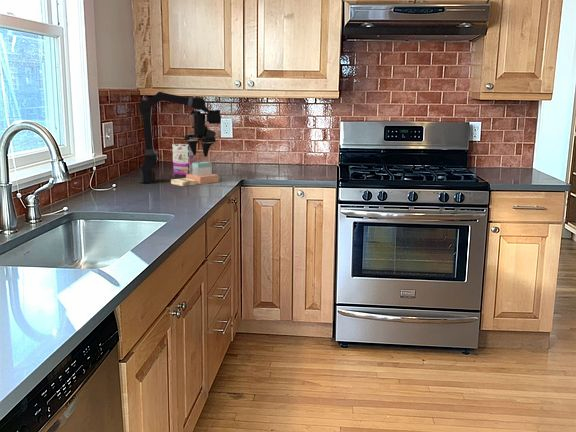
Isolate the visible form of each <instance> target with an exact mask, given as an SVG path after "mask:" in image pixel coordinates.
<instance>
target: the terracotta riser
mask: <svg viewBox="0 0 576 432" xmlns="http://www.w3.org/2000/svg"><path fill="white" fill-rule="evenodd" d="M185 178H187V179H192V180H197V184H196V185H205V184H206V185H208V184H213V183H219V174H216V173H215V174H214V173H212V175H203V176H195V175H193V174H186V176H185Z"/></svg>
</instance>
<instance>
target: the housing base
mask: <svg viewBox="0 0 576 432" xmlns="http://www.w3.org/2000/svg"><path fill="white" fill-rule="evenodd" d="M212 168H213V167H203V168H195V167H192V174H193V175H195V176H203V175H212V174H213V171H212V170H213V169H212Z"/></svg>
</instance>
